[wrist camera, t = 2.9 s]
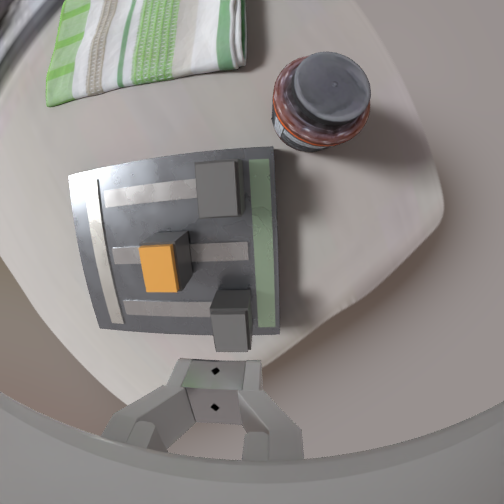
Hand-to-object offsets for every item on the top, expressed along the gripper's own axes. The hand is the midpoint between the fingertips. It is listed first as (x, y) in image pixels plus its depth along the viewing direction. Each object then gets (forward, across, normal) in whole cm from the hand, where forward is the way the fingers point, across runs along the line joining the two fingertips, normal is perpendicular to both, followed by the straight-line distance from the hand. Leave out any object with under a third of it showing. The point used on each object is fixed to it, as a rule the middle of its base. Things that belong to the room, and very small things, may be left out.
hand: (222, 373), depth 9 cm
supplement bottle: (+17, -6, -12) cm, 21 cm away
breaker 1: (+14, +2, -6) cm, 16 cm away
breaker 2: (+15, +2, +5) cm, 16 cm away
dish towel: (+17, +10, -26) cm, 32 cm away
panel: (+17, +8, 0) cm, 18 cm away
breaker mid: (+14, +6, 0) cm, 16 cm away
